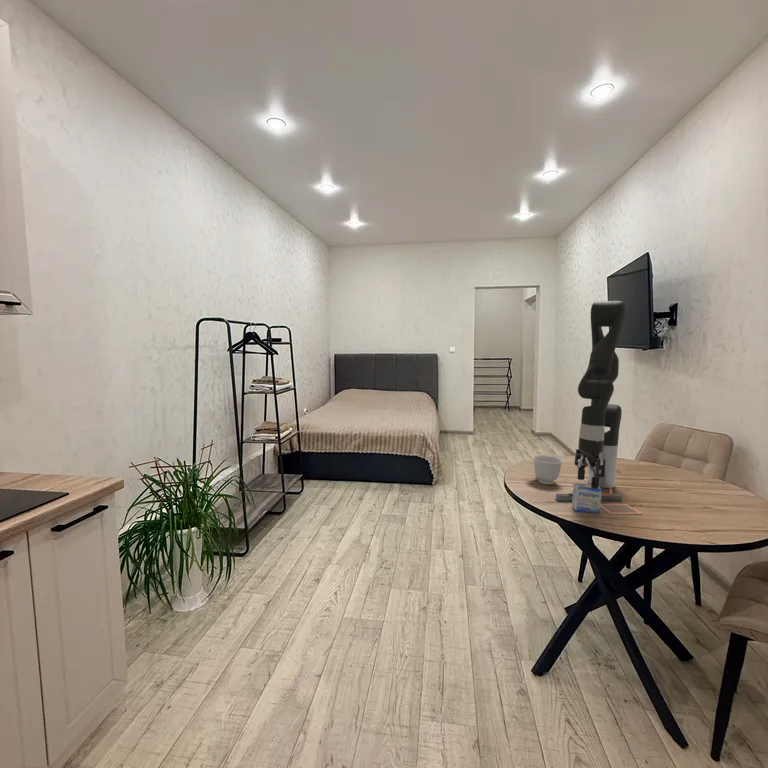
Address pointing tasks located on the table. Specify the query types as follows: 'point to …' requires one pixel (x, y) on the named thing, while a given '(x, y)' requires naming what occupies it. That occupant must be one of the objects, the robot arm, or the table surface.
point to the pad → (619, 509)
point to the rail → (603, 497)
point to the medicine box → (586, 498)
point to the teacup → (547, 468)
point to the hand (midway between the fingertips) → (587, 483)
